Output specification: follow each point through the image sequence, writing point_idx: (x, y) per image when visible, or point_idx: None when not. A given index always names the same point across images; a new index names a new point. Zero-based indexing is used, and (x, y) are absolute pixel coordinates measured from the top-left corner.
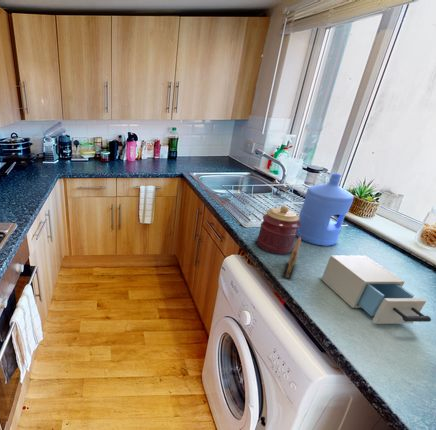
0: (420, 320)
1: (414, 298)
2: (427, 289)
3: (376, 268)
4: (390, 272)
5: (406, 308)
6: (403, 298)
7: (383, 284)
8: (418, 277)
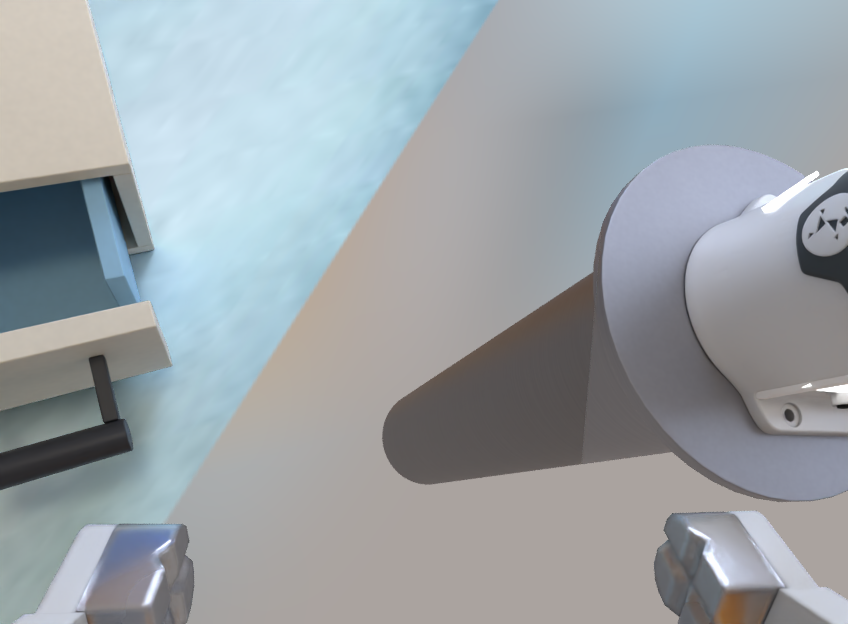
0: (60, 471)
1: (94, 314)
2: (430, 82)
3: (27, 42)
4: (100, 77)
5: (57, 366)
6: (8, 333)
7: None
8: (444, 3)
